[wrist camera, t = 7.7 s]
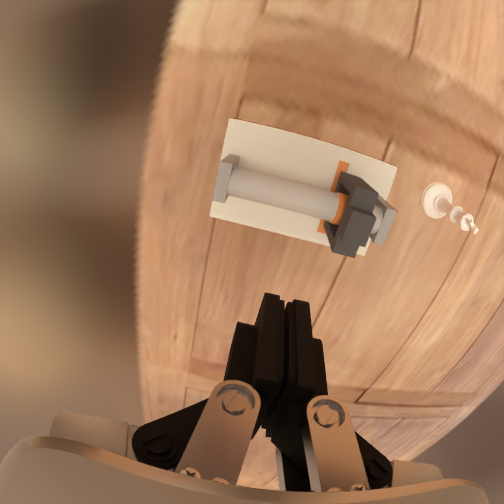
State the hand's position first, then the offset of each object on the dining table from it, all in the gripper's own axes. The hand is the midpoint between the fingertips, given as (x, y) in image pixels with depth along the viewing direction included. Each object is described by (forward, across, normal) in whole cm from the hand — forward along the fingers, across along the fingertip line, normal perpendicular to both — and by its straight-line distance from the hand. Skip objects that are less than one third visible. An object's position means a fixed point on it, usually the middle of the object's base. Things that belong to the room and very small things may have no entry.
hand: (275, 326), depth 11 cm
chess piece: (+25, -20, -4) cm, 33 cm away
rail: (+25, -3, 0) cm, 25 cm away
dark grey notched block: (+23, -7, 0) cm, 25 cm away
